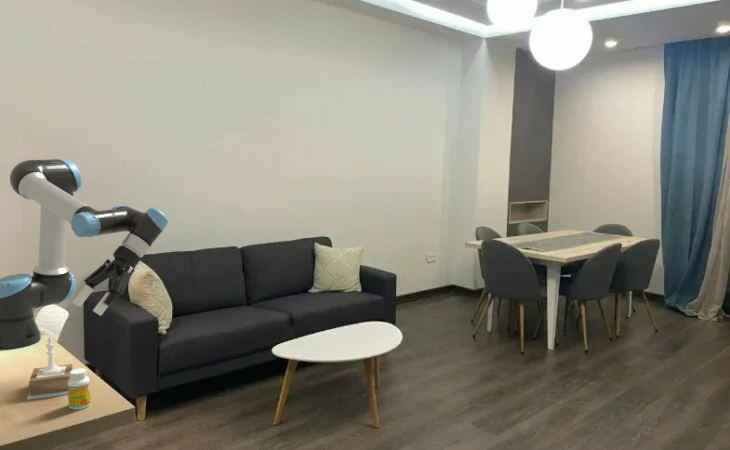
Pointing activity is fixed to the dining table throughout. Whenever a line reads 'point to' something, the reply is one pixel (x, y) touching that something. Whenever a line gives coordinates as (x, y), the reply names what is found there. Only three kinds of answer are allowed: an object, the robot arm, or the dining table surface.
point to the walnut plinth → (49, 381)
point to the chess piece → (50, 361)
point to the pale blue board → (47, 395)
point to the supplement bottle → (79, 389)
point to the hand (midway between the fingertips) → (86, 309)
